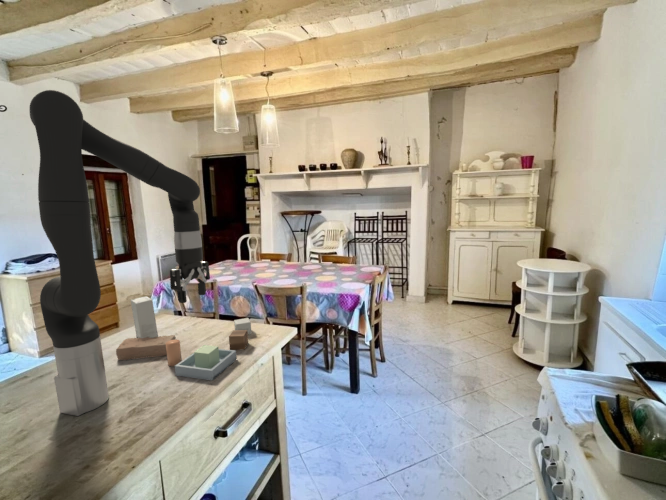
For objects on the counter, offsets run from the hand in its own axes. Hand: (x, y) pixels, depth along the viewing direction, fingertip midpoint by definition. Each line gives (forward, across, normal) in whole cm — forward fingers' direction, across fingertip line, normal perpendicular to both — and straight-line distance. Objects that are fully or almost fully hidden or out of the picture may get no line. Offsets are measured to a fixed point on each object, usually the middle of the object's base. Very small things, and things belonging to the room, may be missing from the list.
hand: (193, 298), depth 100 cm
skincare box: (+21, +13, +34) cm, 42 cm away
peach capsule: (+21, -2, +8) cm, 23 cm away
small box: (+21, +25, -1) cm, 32 cm away
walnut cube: (+21, +14, -6) cm, 26 cm away
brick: (+22, +2, +22) cm, 31 cm away
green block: (+20, -1, -4) cm, 21 cm away
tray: (+21, -1, -4) cm, 22 cm away
